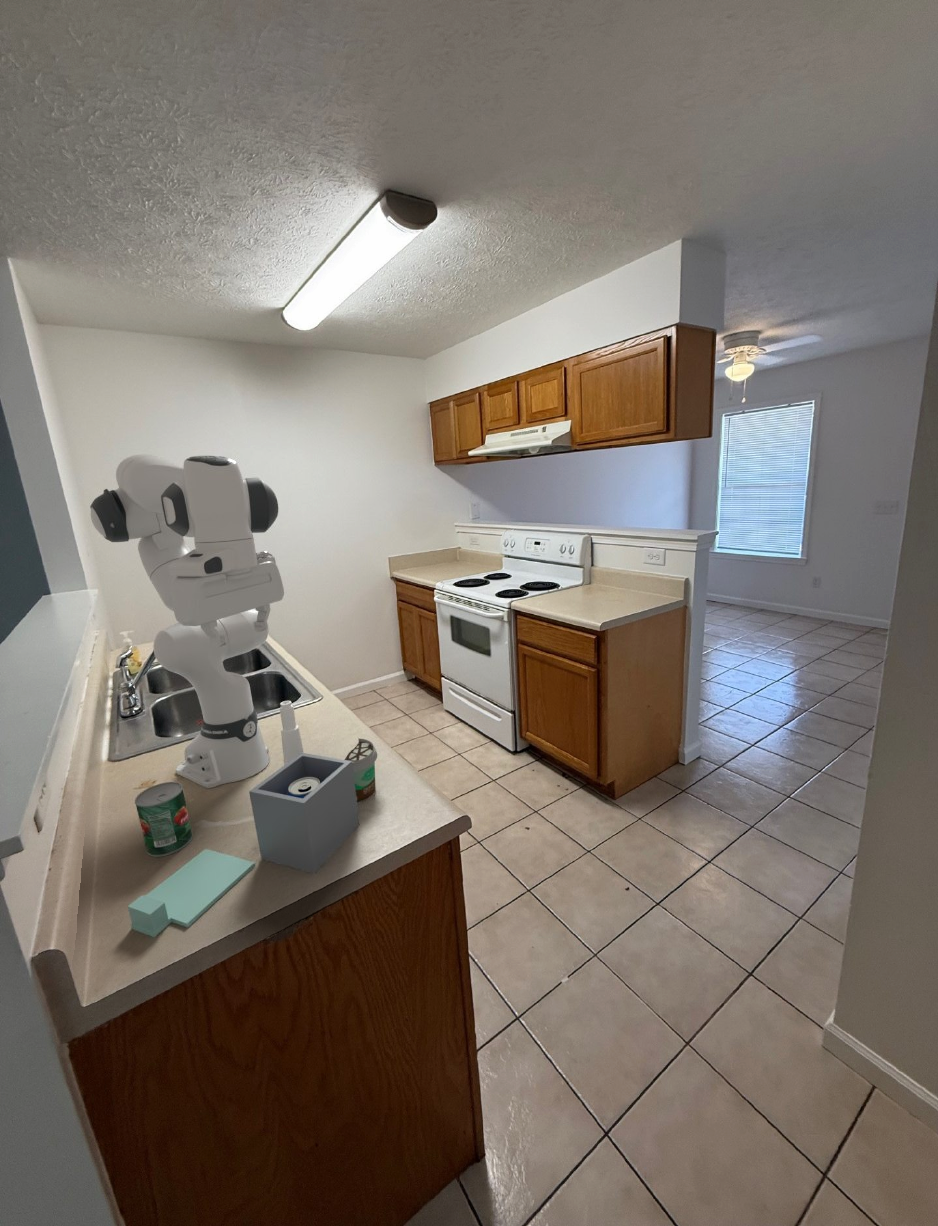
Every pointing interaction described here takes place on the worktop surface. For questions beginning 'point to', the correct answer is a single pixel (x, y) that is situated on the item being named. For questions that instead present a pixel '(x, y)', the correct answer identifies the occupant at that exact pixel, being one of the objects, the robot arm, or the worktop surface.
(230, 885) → the lid
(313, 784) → the beverage can
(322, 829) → the tub
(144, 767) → the worktop surface
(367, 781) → the food container
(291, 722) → the cosmetic bottle
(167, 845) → the canned tomato
